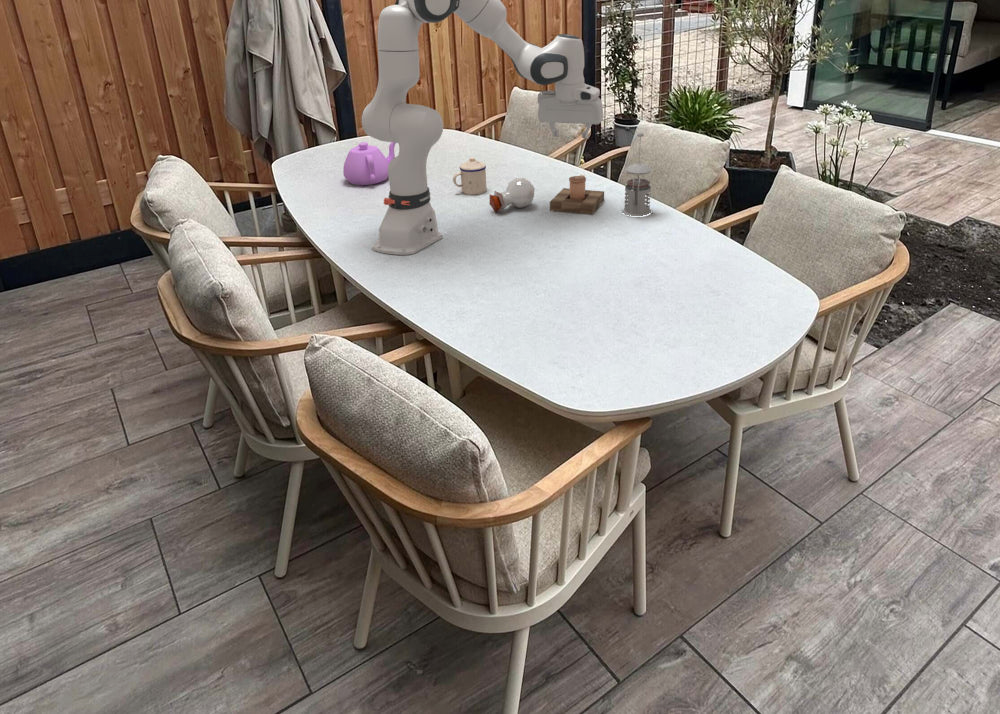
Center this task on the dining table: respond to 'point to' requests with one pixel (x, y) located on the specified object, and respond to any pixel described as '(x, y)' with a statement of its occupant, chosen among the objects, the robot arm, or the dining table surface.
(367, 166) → the teapot
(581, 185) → the copper mug
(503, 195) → the potion bottle
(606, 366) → the dining table surface
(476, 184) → the teacup with lid
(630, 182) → the french press
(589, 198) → the holder
